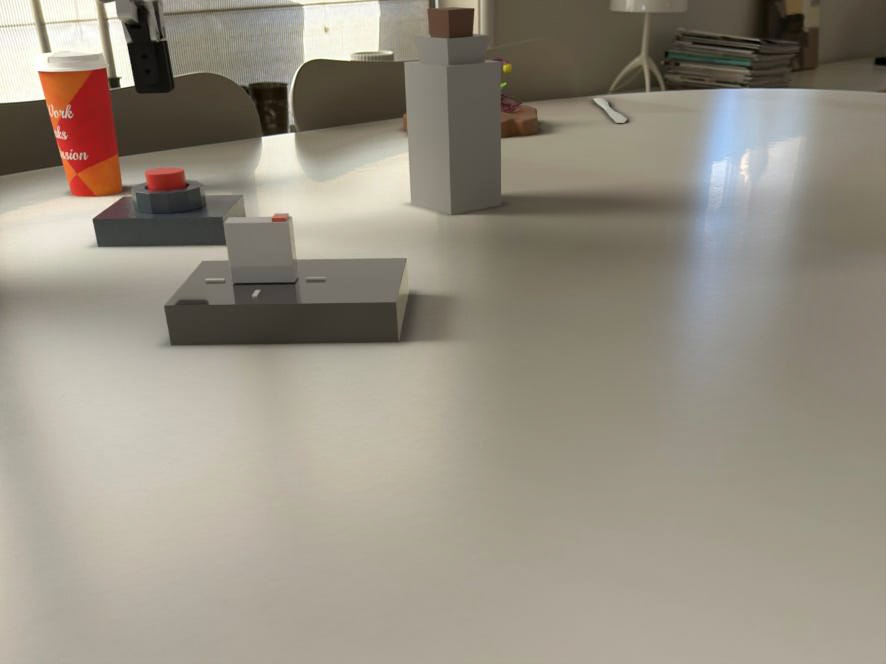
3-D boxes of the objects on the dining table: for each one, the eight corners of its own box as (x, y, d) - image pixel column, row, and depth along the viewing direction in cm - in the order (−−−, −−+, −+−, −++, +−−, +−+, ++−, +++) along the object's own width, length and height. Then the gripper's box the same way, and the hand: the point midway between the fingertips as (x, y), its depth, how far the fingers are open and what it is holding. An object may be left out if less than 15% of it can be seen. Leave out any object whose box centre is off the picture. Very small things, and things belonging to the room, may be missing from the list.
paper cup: (57, 191, 122) (26, 52, 114) (124, 184, 125) (99, 48, 117) (68, 203, 116) (36, 58, 108) (139, 196, 119) (113, 54, 111)
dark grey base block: (171, 348, 74) (163, 303, 73) (208, 299, 84) (201, 258, 83) (398, 345, 74) (395, 299, 72) (408, 296, 84) (406, 255, 82)
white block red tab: (231, 283, 77) (222, 219, 74) (236, 277, 78) (227, 213, 76) (295, 282, 77) (287, 218, 74) (298, 276, 78) (291, 212, 76)
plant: (411, 120, 164) (407, 37, 158) (537, 118, 164) (538, 35, 157) (397, 141, 148) (392, 49, 141) (537, 140, 147) (539, 47, 141)
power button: (144, 194, 99) (140, 174, 98) (153, 187, 102) (150, 167, 101) (182, 194, 99) (179, 173, 98) (191, 186, 102) (188, 166, 101)
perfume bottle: (411, 206, 112) (401, 9, 102) (460, 197, 116) (456, 5, 106) (451, 217, 108) (445, 11, 98) (501, 207, 111) (500, 7, 101)
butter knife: (609, 97, 179) (592, 96, 179) (632, 122, 156) (612, 122, 156) (609, 100, 179) (592, 100, 179) (631, 127, 157) (611, 126, 157)
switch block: (98, 249, 99) (87, 198, 96) (128, 224, 107) (119, 177, 104) (226, 247, 98) (219, 195, 96) (246, 223, 107) (240, 175, 104)
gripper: (92, -155, 92) (137, 82, 102) (31, -166, 80) (89, 105, 90) (178, -158, 92) (214, 80, 102) (130, -169, 79) (177, 102, 90)
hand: (156, 91), depth 96 cm, fingers closed
